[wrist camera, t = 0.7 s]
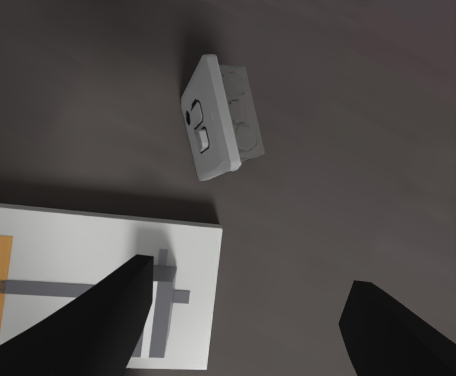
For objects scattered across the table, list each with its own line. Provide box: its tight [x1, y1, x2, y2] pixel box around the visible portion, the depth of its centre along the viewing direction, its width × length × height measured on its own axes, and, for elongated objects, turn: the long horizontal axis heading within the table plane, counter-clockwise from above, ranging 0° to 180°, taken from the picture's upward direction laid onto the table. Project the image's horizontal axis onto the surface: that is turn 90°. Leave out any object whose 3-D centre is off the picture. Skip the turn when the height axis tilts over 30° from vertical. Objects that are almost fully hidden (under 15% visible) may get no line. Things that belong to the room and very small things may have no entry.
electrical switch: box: [181, 54, 265, 181], centre depth 23 cm, size 9×5×9 cm, turn 13°
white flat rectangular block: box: [0, 203, 222, 370], centre depth 24 cm, size 14×25×3 cm, turn 83°
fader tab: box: [131, 265, 177, 358], centre depth 21 cm, size 6×3×4 cm, turn 173°
